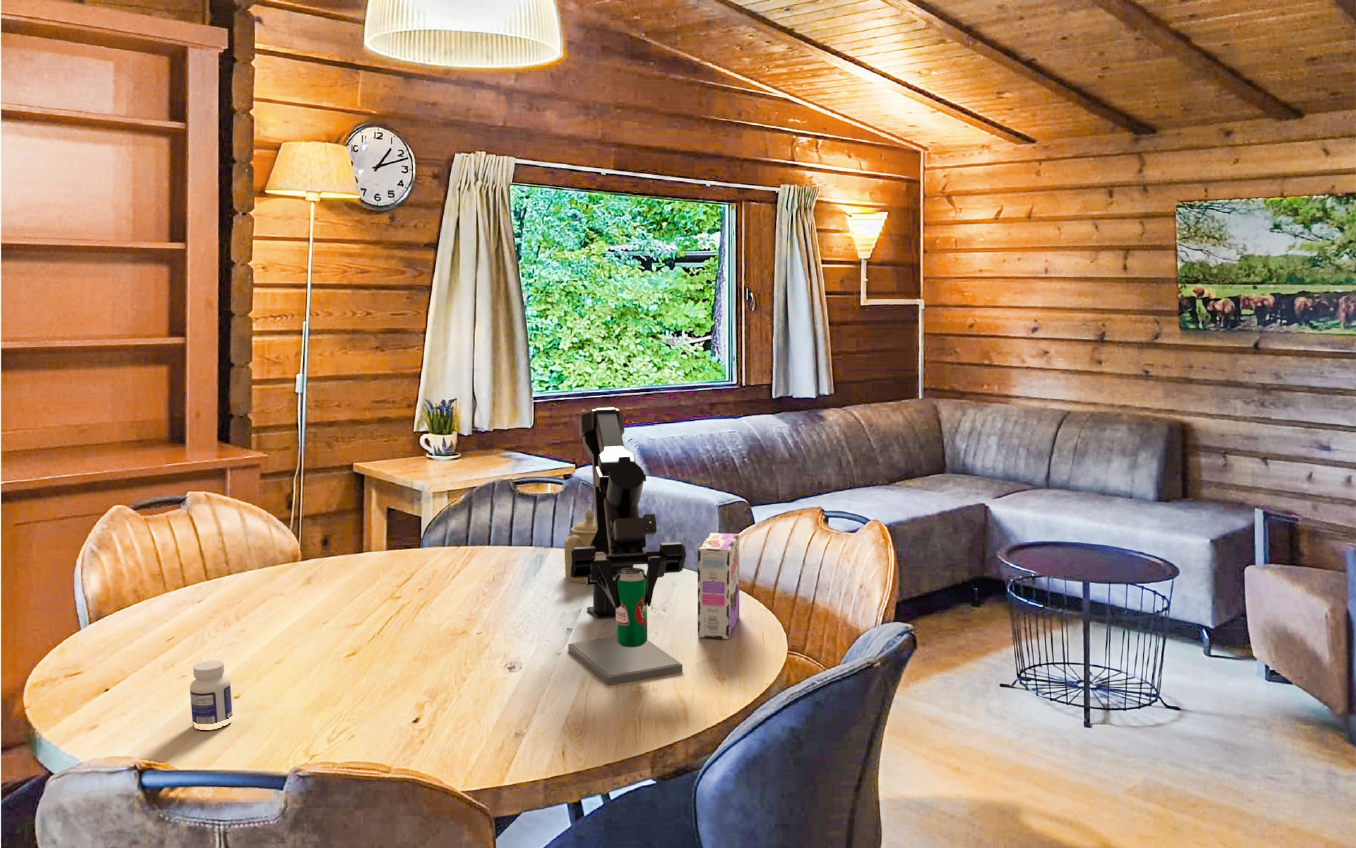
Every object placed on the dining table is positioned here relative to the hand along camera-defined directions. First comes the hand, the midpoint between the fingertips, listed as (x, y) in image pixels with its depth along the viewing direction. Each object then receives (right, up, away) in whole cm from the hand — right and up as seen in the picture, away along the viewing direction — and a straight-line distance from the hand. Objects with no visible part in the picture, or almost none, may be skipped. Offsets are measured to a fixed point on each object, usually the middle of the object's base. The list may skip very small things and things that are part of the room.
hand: (632, 606), depth 167 cm
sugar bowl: (-12, -5, +59) cm, 60 cm away
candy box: (+15, -9, +26) cm, 31 cm away
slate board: (-2, -11, +8) cm, 14 cm away
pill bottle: (-60, -14, -17) cm, 64 cm away
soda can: (0, -7, +2) cm, 7 cm away
